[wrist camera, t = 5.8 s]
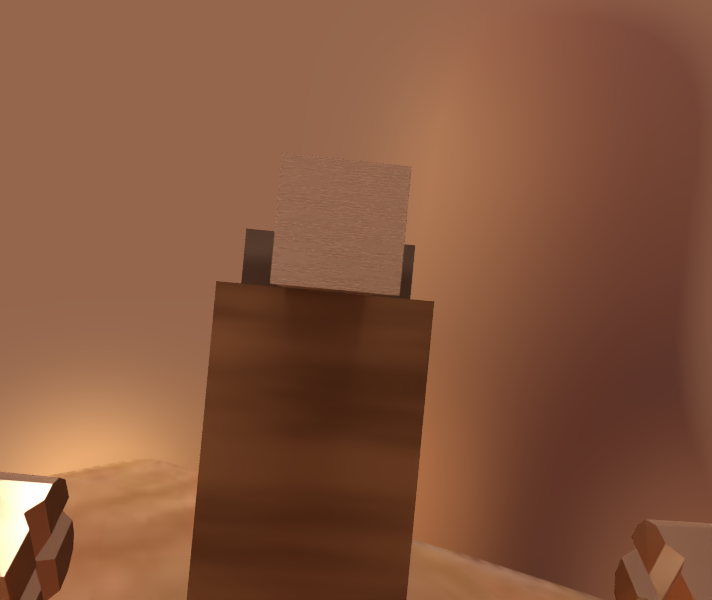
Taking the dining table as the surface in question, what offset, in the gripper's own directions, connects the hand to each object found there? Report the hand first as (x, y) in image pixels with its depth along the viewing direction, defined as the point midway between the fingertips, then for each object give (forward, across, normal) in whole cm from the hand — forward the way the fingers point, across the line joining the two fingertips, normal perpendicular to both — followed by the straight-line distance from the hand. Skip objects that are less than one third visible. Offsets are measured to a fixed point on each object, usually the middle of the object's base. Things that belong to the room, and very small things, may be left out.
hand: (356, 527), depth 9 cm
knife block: (+8, 0, -29) cm, 30 cm away
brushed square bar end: (+18, 0, -6) cm, 19 cm away
